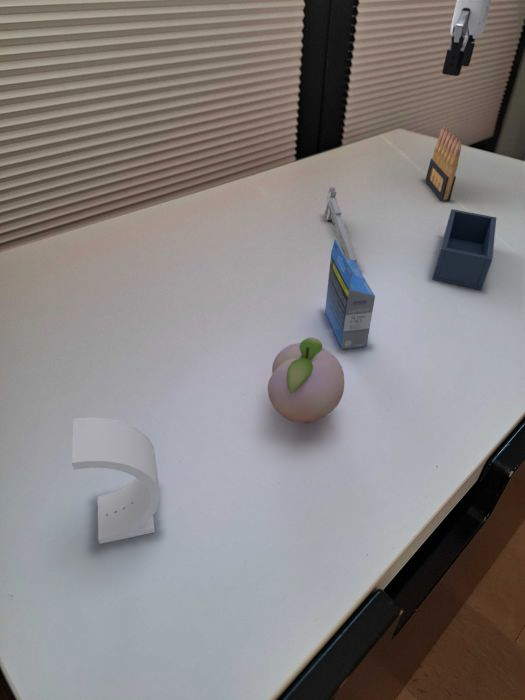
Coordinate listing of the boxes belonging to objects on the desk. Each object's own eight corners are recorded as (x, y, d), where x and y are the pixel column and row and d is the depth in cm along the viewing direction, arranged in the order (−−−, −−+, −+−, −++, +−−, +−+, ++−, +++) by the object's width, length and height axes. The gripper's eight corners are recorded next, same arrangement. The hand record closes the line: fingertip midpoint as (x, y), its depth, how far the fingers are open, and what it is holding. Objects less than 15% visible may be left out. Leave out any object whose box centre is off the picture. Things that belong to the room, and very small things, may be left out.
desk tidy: (486, 246, 91) (496, 217, 88) (480, 290, 80) (492, 259, 77) (443, 237, 93) (451, 208, 90) (432, 279, 82) (441, 248, 79)
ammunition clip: (449, 201, 105) (466, 142, 98) (441, 201, 105) (457, 142, 98) (432, 180, 114) (447, 124, 106) (424, 180, 113) (438, 124, 106)
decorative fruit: (335, 450, 55) (348, 384, 49) (261, 438, 56) (264, 372, 50) (340, 390, 62) (352, 325, 56) (274, 380, 63) (278, 316, 57)
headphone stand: (98, 501, 50) (73, 418, 42) (161, 489, 51) (147, 406, 43) (99, 544, 46) (71, 463, 38) (166, 530, 47) (152, 448, 40)
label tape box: (367, 347, 69) (384, 269, 61) (338, 350, 68) (351, 271, 60) (348, 309, 75) (361, 234, 67) (322, 311, 75) (331, 235, 67)
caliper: (323, 215, 99) (327, 184, 95) (329, 215, 99) (333, 184, 95) (351, 271, 83) (357, 237, 79) (357, 271, 83) (364, 236, 79)
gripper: (498, -37, 81) (467, 81, 92) (512, -42, 92) (482, 64, 103) (451, -41, 83) (425, 76, 94) (470, -44, 95) (445, 59, 106)
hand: (455, 69), depth 99 cm, fingers open, 9 cm apart
